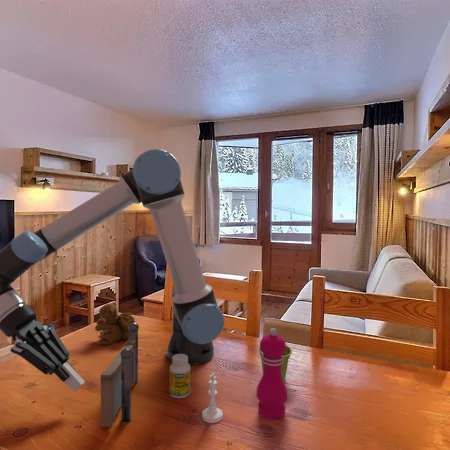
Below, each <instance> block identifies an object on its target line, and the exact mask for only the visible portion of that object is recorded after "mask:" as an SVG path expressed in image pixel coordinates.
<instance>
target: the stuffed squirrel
mask: <svg viewBox="0 0 450 450" xmlns="http://www.w3.org/2000/svg"><path fill="white" fill-rule="evenodd" d="M116 305H117V303H116V302H112V303H106V304H104V305H102V306H101V307H100V308H99V310H98V313H99V314H98V315H99V319H97V320H96V325H95V326H94V329H95V331H96V332H100V333H99V334H100V336H101V338H100V339H98V341H97V344H98V345H99V346H102V345H111V344H114V343H117V342H118V341H120V340H121V341H125V340H126V341H127V340H129V330H128V326H129V324H130V323H132V322H135V323H136V319H135V318H134V317H133V316H132V314H131V313H130V312H121V313H120V314H118V311H117V310H118V309H117V306H116Z"/></svg>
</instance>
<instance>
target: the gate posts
mask: <svg viewBox="0 0 450 450" xmlns="http://www.w3.org/2000/svg"><path fill="white" fill-rule="evenodd" d="M139 327H140V325H139V324H138V323H137V322H136V321H135V322H132V323H130V324H129V326H128V330H129V338H128V340H135V342H136V348H135V383H134V385H137V384H138V382H139V329H140V328H139ZM131 354H132V352H131V350H130V349H129V348H125V349H123V350H122V351H121V353H120V356H121V406H120V409H121V414H120V415H121V417H120V418H121V420H120V421H121V423H123V424H126V423H129V422H130V421H131V420H132V419H131V418H132V417H131V415H132V414H131V412H132V410H131V409H132V406H131V405H132V402H131V398H132V393H131V391H132V390H131V388H132V386H131Z"/></svg>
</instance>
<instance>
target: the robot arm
mask: <svg viewBox="0 0 450 450" xmlns="http://www.w3.org/2000/svg"><path fill="white" fill-rule="evenodd" d="M181 173H182V172H181V166H180V163H179V161H178V160H177V158H176V157H175V156H174V155H173V154H172V153H170V152H168V151H167V150H165V149H162V148H161V149H160V148H153V149H148V150H146V151H144V152H142V153H140V155H138V157H136V159H135V160H134V164H133V165H132V168H131V169H130V170H128V171H127V172H126V173H124V174H122V175H121V176H120V177H119V181H118V182H116V183H115V184H113V185H111V186H109V187H108V188H106V189H104V190H103V191H102V192H99V193H98V194H96V195H94V196H93V197H91V198H90V199H88V200H86V201H85V202H83V203H81V204H80V205H78V206H75V208H73V209H72V210H70V211H68V212H66V213H65V214H63V215H61V216H59V217H58V218H57V219H55V220H53V221H52V222H50V223H48V224H46V225H44V226H43V227H41V228H40V229H38V230H36V231H34V232H31V231H28V230H26V231H22V232H21V233H20V234H19V235H17V236H16V237H14V238H13V239H12V240H11V241H10V242H9V243H8V244H7V245H6V246H4V247H3V248H2V249H0V331H1V332H2V333H3V334H4V336H6V337H7V338H10V337H11V338H12V340H13V341H14V345H13V346H12V347H11V348H10V349H9V350H10V352H11V353H12V354H15V355H18V356H20V357H21V358H23V359H24V360H25V361H26V362H27V363H29V364H30V365H32V366H33V367H35V368H36V369H38V371H40V372H41V373H43V374H44V375H50V376H51V375H52V376H53V374H55V375H56V377H58V379H60V381H61V382H64V383H65V384H66V385H67V387H68V388H69V389H70V390H71V391H72V392H73V393H75V392H76V391H77V390H78V389H79V388H80V387H81V386H82V385H83V384H84V383H85V379H83V378H82V377H81V376H80V375H79V373H77V371H76V369H75V368H74V367H73V366H72V365H71V364H70V363H69V361H68V360H70V355H71V354H70V352H69V350H68V348H67V347H66V346H65V344H64V343H63V341H62V339H61V338H60V337H59V335H58V333H57V332H56V329H55V326H54V325H53V323H50V324H48V325H44V324H43V323H42V322H40V321H39V320H37V315H38V314H37V312H36V311H35V310H34V309H33V308H32V307H31V306H30V305H29V304H27V303H26V300H25V299H24V298H23V297H22V296H21V294H19V293H18V292H17V291H16V289H15V288H14V287H13V286H12V285H11V284H13V283H14V282H15V281H16V280H17V279H19V277H21V276H22V275H23V274H25V273H26V272H27V271H28V270H29V269H31V268H32V267H33V266H35V265H36V264H38V263H39V262H41V261H44V260H45V259H46V258H48V257H49V256H51V255H53V254H54V253H56V252H57V251H59V250H60V249H61V248H64V247H65V246H66V245H68V244H70V243H72V242H73V241H75V240H76V239H78V238H80V237H81V236H82V235H84V234H85V233H87V232H90V231H91V230H93V228H95V227H97V226H99V225H101V224H102V223H104V222H105V221H106V220H108V219H110V218H112V217H113V216H116V215H117V214H119V213H120V212H121V211H123V210H125V209H126V208H128V207H130V206H131V205H134V204H135V205H140V204H141V203H142V207H143V208H145V209H148V210H149V211H150V213H151V216H152V217H151V218H152V220H153V222H154V227H155V229H156V233H157V236H158V239H159V242H160V245H161V249H162V252H163V255H164V258H165V262H166V265H167V268H168V272H169V274H170V278H171V281H172V285H173V290H172V294H171V296H172V333H171V336H170V339H169V342H168V344H167V348H166V356H167V359H168V360H169V361H171V362H172V357H173V356H174V355H176V354H185V355H187V356H188V363H189V365H190V366H191V365H198V364H203V363H206V362H208V361H209V360H211V359H212V358H213V357H214V355H215V352H214V349H215V348H214V344H213V341H215V340H216V339H217V338H218V337H219V336H221V333H222V331H223V330H224V326H225V316H224V313H223V311H222V308H220V306H219V305H218V302H217V299H216V296H215V292H214V288H213V286H212V285H210V284H208V283H206V280H205V277H204V275H203V270H202V268H201V264H200V260H199V257H198V254H197V251H196V247H195V244H194V241H193V237H192V234H191V230H190V227H189V224H188V221H187V217H186V213H185V210H184V207H183V204H182V201H183V199H184V197H185V191H184V186H183V185H182V180H181V176H182V175H181Z"/></svg>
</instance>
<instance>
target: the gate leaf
mask: <svg viewBox="0 0 450 450" xmlns="http://www.w3.org/2000/svg"><path fill="white" fill-rule="evenodd" d="M125 348H129V349H130V350H131V352H132V354H131V387H132V386H134V385H135V384H134V383H135V348H136V342H135V340H129V339H126V341H125V342H124V345H123V346H122V348H121V349H120V350H119V352H117V354H116V356H115V357H114V359H113V360H112V361H111V362H110V363H109V365H108V366H107V368H106V369H105V370H103V371H102V372H101V374H100V426H101V427H112V426H113V424H114V422H115V416H116V415H117V413H118V411H119V409H120V408H121V356H120V353H121V351H122V350H123V349H125Z"/></svg>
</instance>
